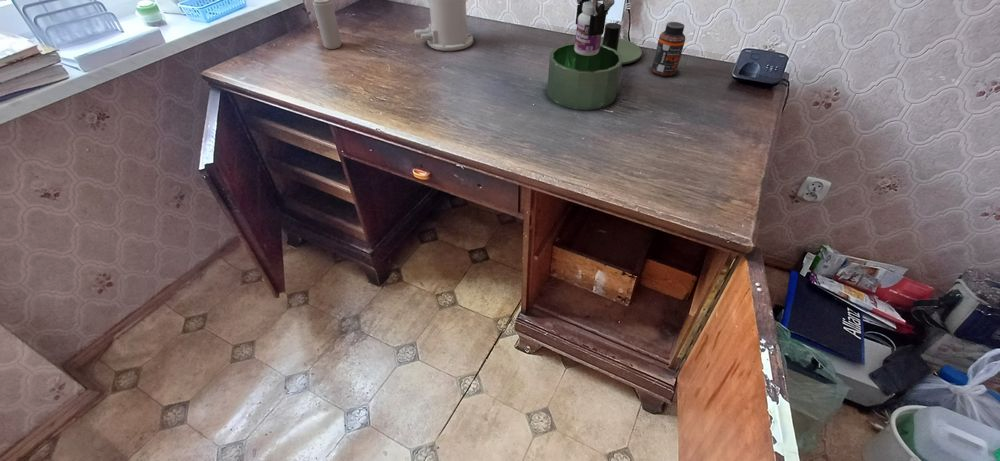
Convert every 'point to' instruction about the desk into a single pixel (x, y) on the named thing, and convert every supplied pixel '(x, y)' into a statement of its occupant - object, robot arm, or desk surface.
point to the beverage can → (327, 23)
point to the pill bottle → (586, 33)
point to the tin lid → (620, 43)
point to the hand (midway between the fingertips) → (589, 28)
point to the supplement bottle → (669, 49)
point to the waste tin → (583, 77)
